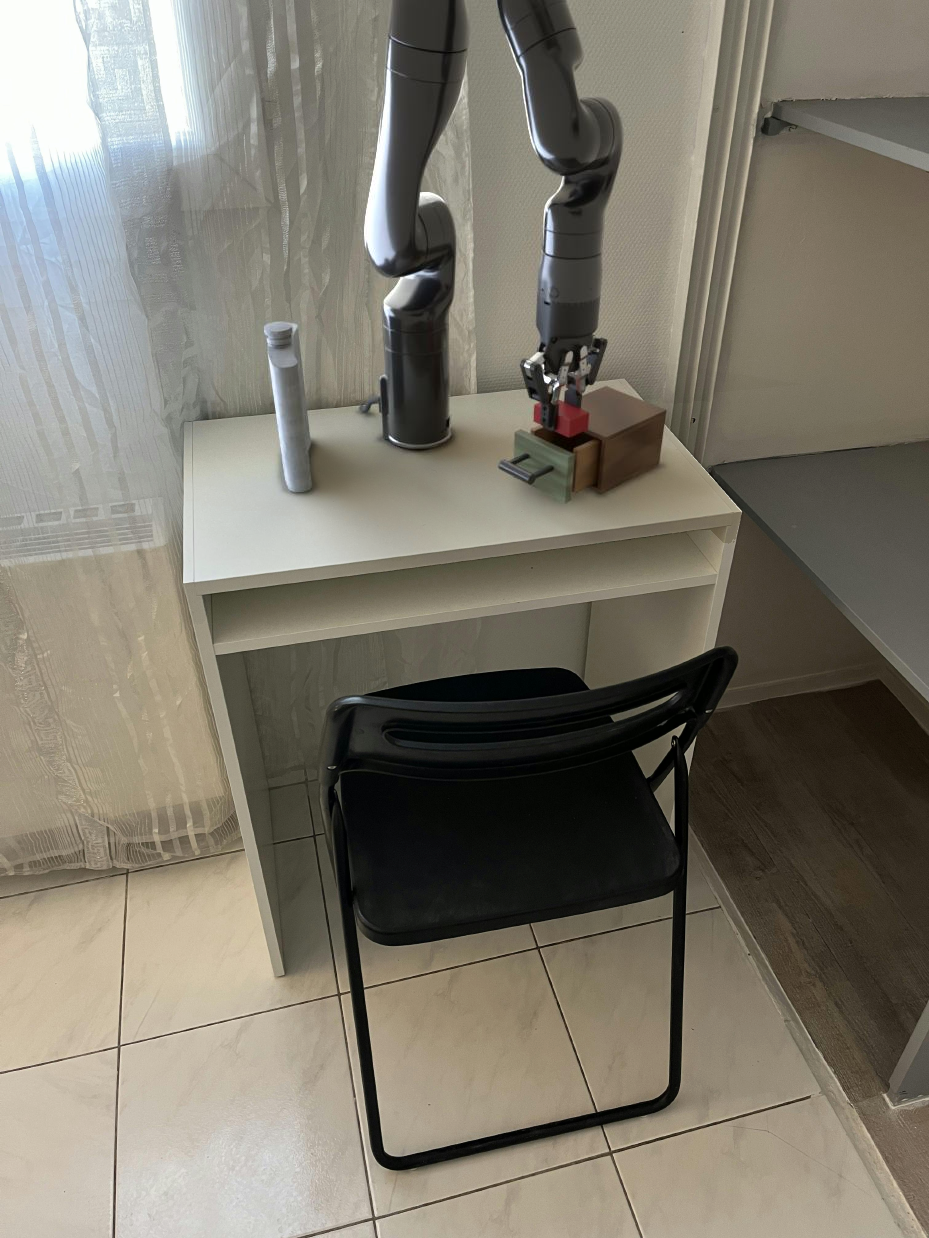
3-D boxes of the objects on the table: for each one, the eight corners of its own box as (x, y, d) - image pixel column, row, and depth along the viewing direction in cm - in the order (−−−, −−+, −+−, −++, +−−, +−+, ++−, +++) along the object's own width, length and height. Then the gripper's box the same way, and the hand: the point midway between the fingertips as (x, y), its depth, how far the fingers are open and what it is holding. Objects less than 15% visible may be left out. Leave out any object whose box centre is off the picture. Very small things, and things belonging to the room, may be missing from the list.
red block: (588, 429, 120) (589, 412, 119) (569, 438, 118) (570, 420, 117) (552, 413, 124) (553, 396, 123) (533, 421, 122) (533, 404, 121)
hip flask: (312, 491, 126) (295, 347, 114) (281, 493, 125) (261, 348, 113) (310, 439, 138) (295, 303, 126) (283, 440, 138) (265, 305, 126)
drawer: (538, 516, 119) (541, 469, 115) (486, 488, 125) (487, 443, 121) (622, 475, 127) (627, 430, 123) (570, 451, 133) (573, 407, 129)
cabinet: (600, 494, 125) (606, 437, 120) (542, 466, 131) (545, 410, 126) (659, 465, 132) (666, 409, 126) (600, 439, 138) (605, 385, 133)
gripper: (585, 270, 117) (575, 399, 127) (504, 295, 109) (500, 430, 120) (632, 284, 112) (617, 417, 123) (550, 311, 105) (542, 450, 115)
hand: (560, 423), depth 121 cm, fingers closed on red block, 3 cm apart
